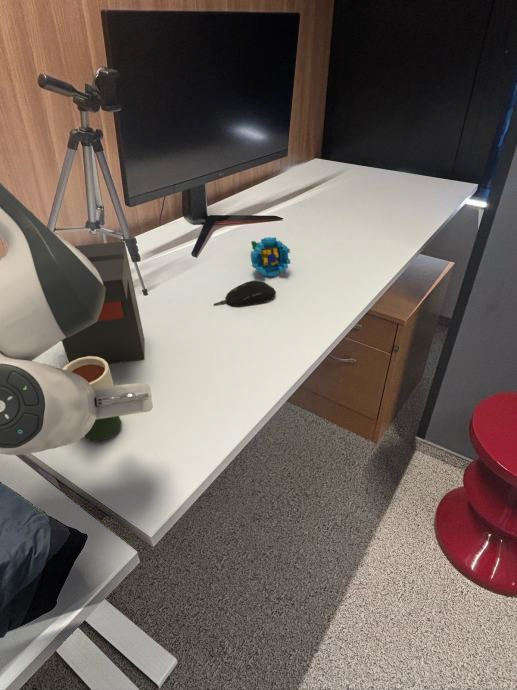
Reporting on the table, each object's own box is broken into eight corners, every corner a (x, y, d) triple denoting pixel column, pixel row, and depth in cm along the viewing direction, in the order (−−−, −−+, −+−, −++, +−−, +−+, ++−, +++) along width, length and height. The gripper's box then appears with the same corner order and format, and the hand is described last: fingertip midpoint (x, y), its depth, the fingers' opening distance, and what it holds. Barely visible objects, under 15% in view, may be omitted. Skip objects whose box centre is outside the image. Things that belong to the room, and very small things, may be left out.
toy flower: (273, 260, 134) (291, 275, 118) (242, 264, 132) (256, 280, 116) (271, 227, 131) (290, 238, 114) (239, 231, 129) (253, 242, 113)
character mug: (86, 408, 84) (67, 350, 76) (127, 404, 85) (113, 346, 77) (74, 457, 76) (51, 397, 68) (120, 453, 76) (103, 393, 68)
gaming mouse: (210, 298, 112) (209, 283, 110) (270, 287, 116) (270, 272, 113) (217, 312, 107) (215, 297, 105) (279, 300, 111) (279, 285, 108)
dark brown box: (66, 393, 87) (29, 289, 74) (74, 347, 98) (43, 249, 85) (144, 382, 89) (122, 279, 76) (144, 338, 100) (124, 241, 87)
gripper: (144, 367, 57) (154, 376, 70) (-41, 393, 54) (7, 397, 67) (151, 421, 56) (160, 419, 69) (-37, 450, 53) (11, 442, 67)
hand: (83, 409), depth 68 cm, fingers open, 8 cm apart
